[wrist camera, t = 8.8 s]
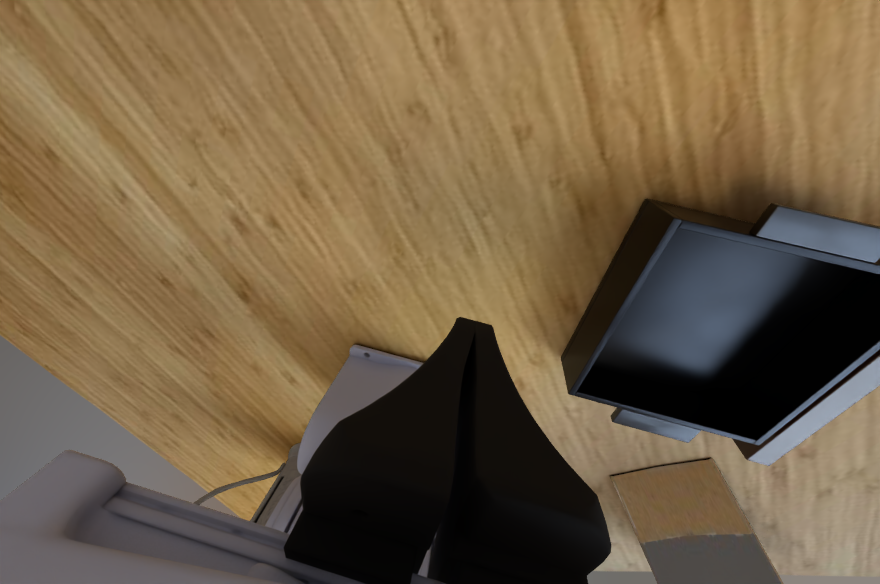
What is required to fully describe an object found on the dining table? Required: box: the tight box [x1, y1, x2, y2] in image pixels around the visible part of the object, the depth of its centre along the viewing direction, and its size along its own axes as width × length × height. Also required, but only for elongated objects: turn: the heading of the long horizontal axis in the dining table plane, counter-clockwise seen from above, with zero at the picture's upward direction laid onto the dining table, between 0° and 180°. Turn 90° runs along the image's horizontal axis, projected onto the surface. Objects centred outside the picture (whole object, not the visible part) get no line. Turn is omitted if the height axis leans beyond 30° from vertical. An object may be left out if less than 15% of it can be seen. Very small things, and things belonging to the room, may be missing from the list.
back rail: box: [732, 350, 880, 466], centre depth 18 cm, size 2×16×3 cm, turn 170°
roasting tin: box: [561, 199, 880, 445], centre depth 18 cm, size 12×15×4 cm
